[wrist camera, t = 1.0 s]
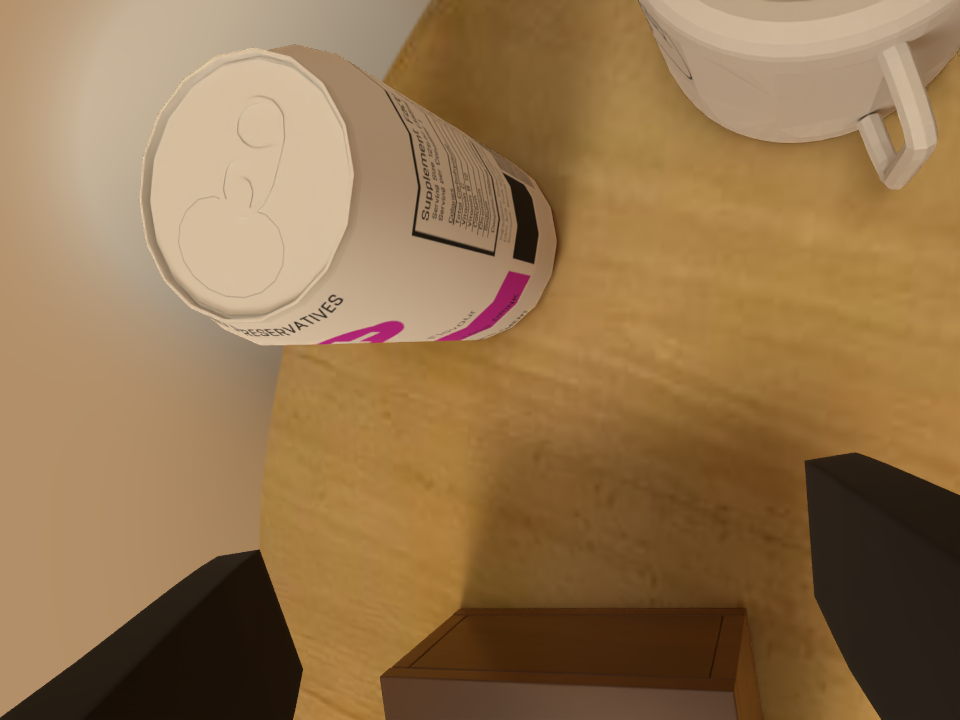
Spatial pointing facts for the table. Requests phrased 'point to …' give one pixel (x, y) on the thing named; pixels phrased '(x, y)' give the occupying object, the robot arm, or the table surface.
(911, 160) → the mug
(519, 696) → the cabinet
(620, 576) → the table surface
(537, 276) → the supplement can
